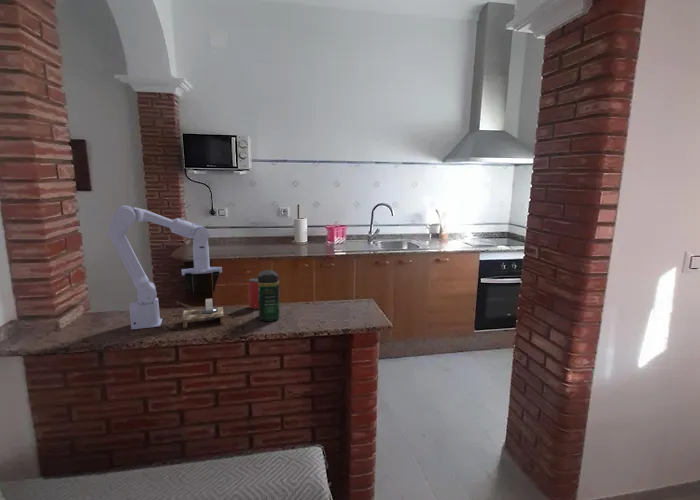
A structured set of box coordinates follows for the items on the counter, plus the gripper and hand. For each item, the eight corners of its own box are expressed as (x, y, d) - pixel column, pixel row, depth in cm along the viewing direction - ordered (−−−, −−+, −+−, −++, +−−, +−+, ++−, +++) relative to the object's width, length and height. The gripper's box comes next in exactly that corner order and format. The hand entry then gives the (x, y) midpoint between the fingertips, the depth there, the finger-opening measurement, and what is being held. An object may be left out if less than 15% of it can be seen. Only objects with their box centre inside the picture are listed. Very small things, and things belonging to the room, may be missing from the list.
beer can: (246, 306, 166) (245, 279, 164) (261, 303, 170) (260, 276, 168) (252, 310, 161) (251, 282, 158) (267, 307, 164) (266, 279, 162)
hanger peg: (201, 322, 144) (200, 303, 142) (201, 316, 149) (200, 298, 148) (218, 320, 146) (217, 301, 144) (218, 315, 151) (217, 297, 150)
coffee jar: (280, 321, 149) (279, 273, 145) (259, 322, 147) (257, 274, 143) (278, 312, 158) (277, 268, 155) (258, 314, 156) (256, 269, 153)
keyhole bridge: (183, 328, 141) (182, 317, 140) (184, 320, 148) (183, 310, 148) (223, 323, 146) (223, 313, 145) (223, 316, 153) (222, 306, 152)
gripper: (180, 260, 143) (182, 295, 146) (221, 258, 148) (223, 292, 150) (181, 256, 150) (183, 291, 152) (221, 254, 155) (222, 288, 157)
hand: (203, 291), depth 152 cm, fingers open, 7 cm apart
